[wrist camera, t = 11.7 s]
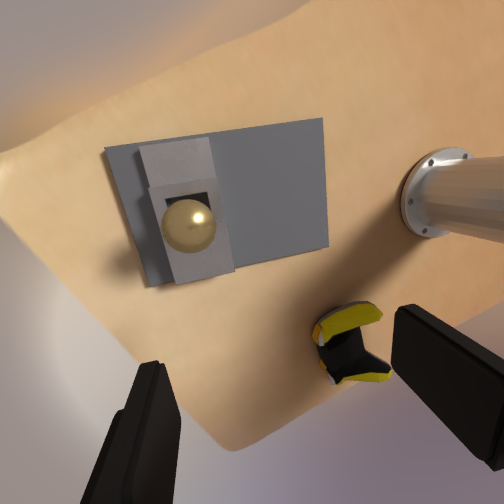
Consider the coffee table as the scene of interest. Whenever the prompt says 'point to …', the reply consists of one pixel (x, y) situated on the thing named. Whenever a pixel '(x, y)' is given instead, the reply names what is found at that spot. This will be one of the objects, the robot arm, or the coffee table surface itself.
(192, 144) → the grey slotted housing block
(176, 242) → the pin
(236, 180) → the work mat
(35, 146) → the coffee table surface
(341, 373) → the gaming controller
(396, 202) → the coffee table surface
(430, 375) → the robot arm
